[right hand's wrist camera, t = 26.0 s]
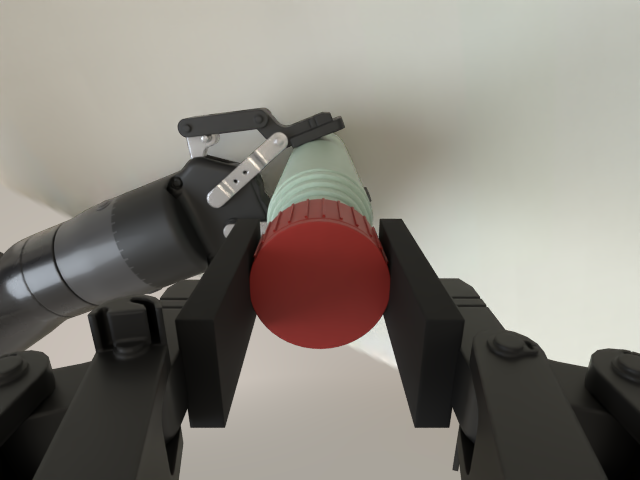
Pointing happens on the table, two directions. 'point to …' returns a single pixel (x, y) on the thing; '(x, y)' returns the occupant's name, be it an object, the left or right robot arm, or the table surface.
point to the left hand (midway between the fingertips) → (355, 159)
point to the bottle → (320, 178)
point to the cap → (319, 275)
